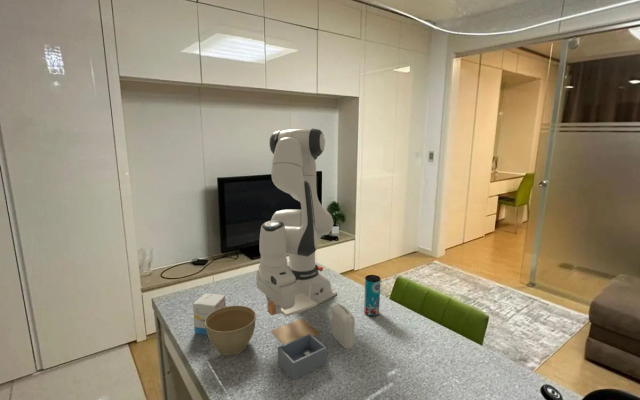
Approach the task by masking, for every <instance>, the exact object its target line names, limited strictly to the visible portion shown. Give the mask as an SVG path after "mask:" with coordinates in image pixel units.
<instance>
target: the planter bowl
mask: <svg viewBox="0 0 640 400" xmlns="http://www.w3.org/2000/svg"><path fill="white" fill-rule="evenodd" d="M256 320H257V313H256V311H255V310H254V309H253V308H251V307H249V306H245V305H230V306H226V307H223V308H220V309H218V310H215V311H214V312H212V313H210V314H209V315H208V316H207V318H206V320H205V326H206V330H207V335H206V336H207V337H208V339H209V341H210V342H211V345H213V347H214V348H215V349H216V350H217V351H218V353H219V354H220V355H222V356H223V355H224V356H233V355H234V356H235V355H238V354H240V353H242V352H243V351H244V350H245V349H247V346H248V344H249V342H250V341H251V339H252V337H253V335H254V332H255V329H256Z"/></svg>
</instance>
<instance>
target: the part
mask: <svg viewBox="0 0 640 400" xmlns="http://www.w3.org/2000/svg"><path fill="white" fill-rule="evenodd" d="M311 353H312V350H311V349H309V348H306V349H304V350H303V357H304V356H307V355H309V354H311Z"/></svg>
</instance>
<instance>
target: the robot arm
mask: <svg viewBox="0 0 640 400" xmlns="http://www.w3.org/2000/svg"><path fill="white" fill-rule="evenodd" d="M324 136H325V135H324V133H323V131H322V130H320V129H318V128H293V129H285V130H277V131H275V132H273V133H272V134H271V135H270V137H269V148H270V149H269V150H270V152H271V153H272V155H273V156H272V157H273V158H272V161H271V162H272V164H271V180H272V183H273V185H274V186H275V187H276V188H277V189H279V190H280V191H282V192H283V193H286V194H289V195H290V196H291V197H292V198H293V199H294V200H296V201H298V202H299V203H300V208H301V209H293V208H292V209H291V208H289V209H281V210H276V211H275V212H274V213H273V215H272V217H271V219H270V220H268V221H265V222H264V223H262V225H261V227H260V230H259V231H260V233H259V242H258V243H259V254H260V260H259V264H258V269H257V271H256V279H255V281H256V282H255V285H256V288H257V289H258V290H259V291H260V292H261V293H263V294H264V295H265V299H266V301H267V303H270V302H273V301H274V302H275V304H276V307H275V308H274V312H275V313H276V314H275V315H279V314H282V313H281V308H283V309H284V310H286V309H289V308H292V307H293V306H294V304H295V295H298V294H301V293H303V294H304V295H306V296H307V297H309V298H310V299H312V300H313V301H315V302H316V303H317V306H318V305H320V304H321V303H323V302H325V301H327V300H328V299H330V298H332V297H334V296H336V295H337V290H336V288H334V287H332V284H331V280H330V279H329V278H328V277H327V276H325V275H323V274H322V273H321V272H323V270H324V267H323V266H321V265H318V264H316V251H317V250H318V244H319V238H318V237H321V236H322V237H323V236H327V235H329V234H330V233H331V231H332V230H333V228H334V219H333V215H332V214H331V213H330V212H329V211H327V209H326V208H324V207H323V205H322V204H321V202H320V200H319V197H318V192H317V164H316V160H317V159H318V158H319V157H320V156H321V154H323V152H324V149H325V146H326V138H325V137H324ZM287 255H288V259H287ZM288 261H289V265H288Z"/></svg>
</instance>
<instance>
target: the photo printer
mask: <svg viewBox="0 0 640 400" xmlns="http://www.w3.org/2000/svg"><path fill="white" fill-rule="evenodd" d="M355 321H356V320H355V317H354V316H353V313H352V312H351V311H350V310H349V309H348V307H346V306H345V305H343V304H340V303H337V304H334V305H333V307H332V311H331V334H332V336H333V337H334V339H335V340H336V341H337V342H338V343H339V344H340V345H341V346H342V347H343V348H344V349H351V348H353V347H354V346H355V327H356V325H355V324H356V323H355Z"/></svg>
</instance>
